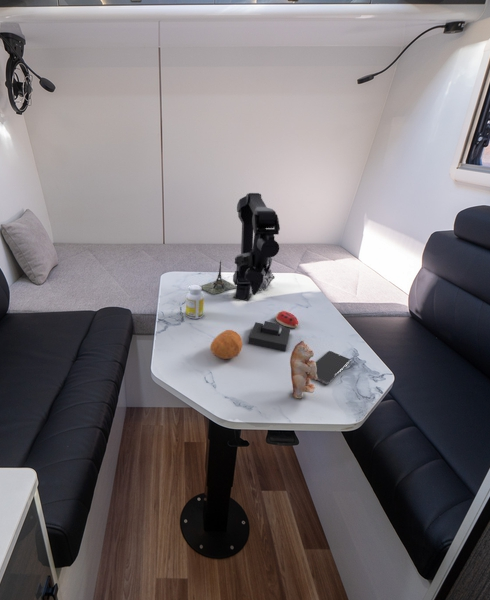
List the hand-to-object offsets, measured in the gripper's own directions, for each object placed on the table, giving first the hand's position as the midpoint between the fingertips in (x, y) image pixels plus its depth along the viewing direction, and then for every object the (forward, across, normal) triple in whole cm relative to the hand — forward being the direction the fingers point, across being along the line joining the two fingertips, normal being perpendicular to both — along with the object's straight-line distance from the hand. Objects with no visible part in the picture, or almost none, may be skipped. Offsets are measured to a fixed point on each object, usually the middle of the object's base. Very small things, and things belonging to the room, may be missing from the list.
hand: (256, 289), depth 133 cm
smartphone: (+12, +22, +27) cm, 37 cm away
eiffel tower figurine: (+12, -23, -20) cm, 33 cm away
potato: (+12, +27, -3) cm, 30 cm away
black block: (+12, +10, +8) cm, 17 cm away
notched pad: (+12, +12, +8) cm, 19 cm away
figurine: (+12, +37, +20) cm, 44 cm away
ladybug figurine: (+12, -2, +12) cm, 17 cm away
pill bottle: (+12, +6, -21) cm, 25 cm away
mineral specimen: (+12, -31, -2) cm, 33 cm away
